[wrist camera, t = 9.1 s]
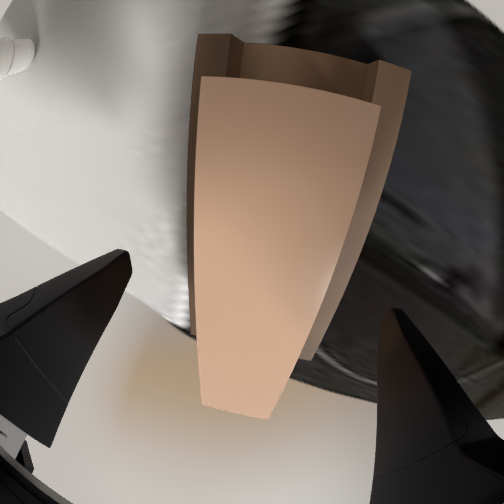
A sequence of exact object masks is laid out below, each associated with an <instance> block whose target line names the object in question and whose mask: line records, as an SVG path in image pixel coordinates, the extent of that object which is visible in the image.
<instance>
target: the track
mask: <svg viewBox="0 0 504 504" xmlns="http://www.w3.org/2000/svg"><path fill="white" fill-rule="evenodd" d="M201 76H209V77H229V78H242V79H253V80H262V81H270V82H277V83H284V84H290V85H296V86H302V87H307V88H313V89H317V90H322V91H327V92H331V93H335V94H340V95H344V96H347V97H351V98H355V99H359V100H362V101H366V102H369V103H372V104H376V105H379V106H381V110H380V114H379V119H378V124H377V128H376V132H375V137H374V141H373V145H372V149H371V153H370V157H369V161H368V165H367V168H366V172H365V176H364V179H363V183H362V186H361V190H360V193H359V197H358V200H357V203H356V207H355V210H354V213H353V216H352V220H351V223H350V226H349V229H348V232H347V235H346V238H345V241H344V244H343V247H342V250H341V253H340V255H339V258H338V261H337V264H336V267H335V269H334V272H333V275H332V278H331V280H330V283H329V285H328V288H327V291H326V293H325V296H324V298H323V301H322V303H321V306H320V308H319V311H318V313H317V316H316V318H315V321H314V323H313V325H312V328H311V330H310V333H309V335H308V337H307V340H306V342H305V344H304V346H303V349H302V351H301V353H300V355H299V358H298V359H304V360H310V361H311V360H312V358H313V356H314V354H315V352H316V350H317V348H318V346H319V344H320V342H321V340H322V338H323V336H324V334H325V332H326V330H327V328H328V326H329V324H330V322H331V320H332V317H333V315H334V313H335V311H336V309H337V307H338V304H339V302H340V300H341V298H342V296H343V293H344V291H345V289H346V286H347V284H348V282H349V279H350V277H351V275H352V272H353V270H354V267H355V265H356V262H357V260H358V257H359V255H360V252H361V250H362V247H363V244H364V242H365V239H366V237H367V234H368V231H369V228H370V226H371V223H372V220H373V217H374V214H375V211H376V208H377V205H378V202H379V199H380V196H381V193H382V190H383V187H384V184H385V180H386V177H387V174H388V170H389V167H390V163H391V160H392V156H393V153H394V149H395V145H396V141H397V137H398V133H399V129H400V125H401V121H402V116H403V112H404V107H405V103H406V98H407V93H408V87H409V82H410V76H411V71H409V70H407V69H404V68H402V67H399V66H396V65H393V64H391V63H388V62H385V61H382V60H377V61H374V62H372V63H369V64H365V63H361V62H358V61H354V60H351V59H347V58H343V57H339V56H334V55H330V54H325V53H321V52H316V51H310V50H305V49H299V48H292V47H285V46H278V45H269V44H258V43H245V42H242V41H241V40H239V39H238V38H236V37H235V36H233V35H232V34H198V38H197V46H196V55H195V64H194V73H193V84H192V96H191V109H190V124H189V143H188V169H187V262H188V288H189V308H190V324H191V334H193V335H197V333H196V313H195V284H194V189H195V160H196V140H197V124H198V109H199V97H200V85H201Z"/></svg>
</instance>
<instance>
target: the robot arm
mask: <svg viewBox="0 0 504 504" xmlns="http://www.w3.org/2000/svg"><path fill="white" fill-rule="evenodd" d="M131 275H132V265H131V260H130V254H129V252H128V251H126V250H122V249H116V250H114V251H112V252H109V253H107V254H105V255H103V256H100V257H98V258H96V259H94V260H91V261H89V262H87V263H85V264H83V265H80V266H78V267H76V268H74V269H72V270H69V271H67V272H65V273H63V274H61V275H59V276H57V277H55V278H53V279H51V280H49V281H47V282H45V283H42V284H40V285H38V286H37V287H34V288H32V289H30V290H28V291H27V292H24V293H22V294H20V295H18V296H16V297H14V298H11V299H9V300H7V301H5V302H2V303H0V504H72V503H71V502H70V501H68V500H66V499H65V498H63V497H62V496H60V495H59V494H58V493H56V492H55V491H53V490H52V489H51V488H49V487H48V486H46V485H45V484H44V483H42V482H41V481H40V480H39V479H37V478H36V477H35V476H34V475H32V472H33V470H34V467H33V463H32V460H31V457H30V453H29V449H28V445H27V441H26V440H25V438H26V436H27V434H28V435H29V436H31V437H32V438H34V439H35V440H37V441H39V442H40V443H42V444H43V445H45V446H47V447H48V448H50V447H51V445H52V442H53V440H54V437H55V435H56V432H57V429H58V427H59V424H60V422H61V419H62V417H63V415H64V413H65V410H66V408H67V405H68V403H69V401H70V398H71V396H72V394H73V392H74V390H75V388H76V385H77V383H78V381H79V379H80V377H81V375H82V373H83V371H84V369H85V366H86V365H87V363H88V361H89V359H90V357H91V355H92V353H93V351H94V349H95V347H96V345H97V343H98V341H99V339H100V337H101V336H102V334H103V332H104V330H105V328H106V327H107V325H108V323H109V321H110V319H111V318H112V316H113V314H114V312H115V310H116V308H117V306H118V304H119V302H120V299H121V297H122V295H123V293H124V291H125V288H126V286H127V284H128V282H129V280H130V278H131ZM370 504H504V440H503V439H501V438H500V437H499V436H498V435H497V434H496V433H495V432H494V431H493V429H492V428H491V427H490V425H489V424H488V423H487V421H486V420H485V419H484V417H483V416H482V415H481V413H480V412H479V411H478V409H477V408H476V407H475V405H474V404H473V403H472V402H471V400H470V399H469V397H468V396H467V394H466V393H465V392H464V390H463V389H462V387H461V386H460V384H459V383H457V380H456V379H455V377H454V376H453V375H452V373H451V372H450V370H449V369H448V368H447V366H446V365H445V364H444V362H443V361H442V360H441V358H440V357H439V356H438V354H437V353H436V352H435V350H434V349H433V348H432V346H431V345H430V344H429V342H428V341H427V340H426V339H425V337H424V336H423V335H422V333H421V332H420V331H419V330H418V328H417V327H416V326H415V325H414V324H413V322H412V321H411V320H410V319H409V317H408V316H407V315H406V314H405V313H404V311H403V310H401V309H397V308H390V309H389V311H388V312H387V314H386V316H385V317H384V319H383V320H382V322H381V324H380V326H379V337H378V357H377V435H376V452H375V465H374V475H373V483H372V491H371V498H370Z"/></svg>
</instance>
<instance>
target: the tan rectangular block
mask: <svg viewBox="0 0 504 504" xmlns="http://www.w3.org/2000/svg"><path fill="white" fill-rule="evenodd" d="M380 110H381V106H379V105H376V104H372V103H369V102H366V101H362V100H359V99H355V98H351V97H347V96H344V95H340V94H335V93H331V92H327V91H322V90H317V89H313V88H307V87H302V86H296V85H290V84H284V83H277V82H270V81H262V80H253V79H242V78H229V77H209V76H201V85H200V97H199V109H198V124H197V140H196V160H195V189H194V284H195V313H196V333H197V348H198V349H197V350H198V363H199V377H200V389H201V398H202V399H201V400H202V404H203V405H206V406H210V407H213V408H217V409H221V410H225V411H229V412H233V413H237V414H242V415H246V416H251V417H256V418H262V419H266V420H268V419H269V417H270V415H271V413H272V411H273V409H274V407H275V405H276V403H277V401H278V399H279V397H280V395H281V393H282V391H283V389H284V387H285V385H286V383H287V381H288V379H289V377H290V375H291V373H292V371H293V368H294V366H295V364H296V362H297V360H298V358H299V355H300V353H301V351H302V349H303V346H304V344H305V342H306V340H307V337H308V335H309V333H310V330H311V328H312V325H313V323H314V321H315V318H316V316H317V313H318V311H319V308H320V306H321V303H322V301H323V298H324V296H325V293H326V291H327V288H328V285H329V283H330V280H331V278H332V275H333V272H334V269H335V267H336V264H337V261H338V258H339V255H340V253H341V250H342V247H343V244H344V241H345V238H346V235H347V232H348V229H349V226H350V223H351V220H352V216H353V213H354V210H355V207H356V203H357V200H358V197H359V193H360V190H361V186H362V183H363V179H364V176H365V172H366V168H367V165H368V161H369V157H370V153H371V149H372V145H373V141H374V137H375V132H376V128H377V124H378V119H379V114H380Z"/></svg>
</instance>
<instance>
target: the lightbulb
mask: <svg viewBox="0 0 504 504" xmlns="http://www.w3.org/2000/svg"><path fill="white" fill-rule="evenodd" d="M34 55H35V48H34V43H33V41H32V40H31V39H15V40H11V39H10V38H7V37H5V38H0V81H1V80H2V79H4V78H5V77H6V76H9V75H13V74H16V73H19V72H23V71H25V70H26V69H27V68H28V67H29V65H30V64H31V62H32V59H33V58H34Z"/></svg>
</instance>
